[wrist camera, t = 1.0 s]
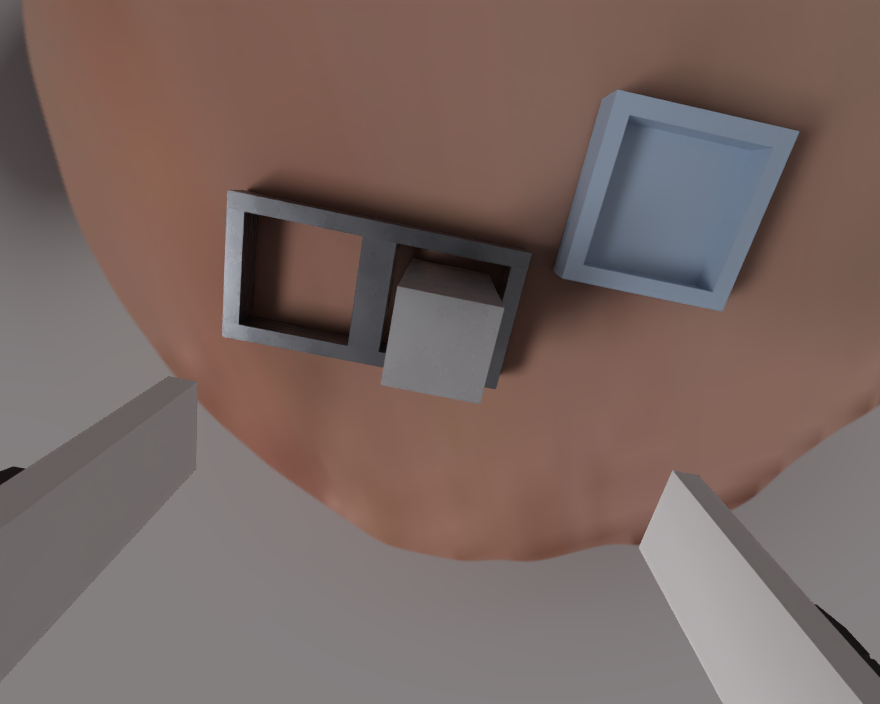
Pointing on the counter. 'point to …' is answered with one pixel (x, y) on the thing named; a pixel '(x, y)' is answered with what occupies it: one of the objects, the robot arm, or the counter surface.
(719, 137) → the parts tray
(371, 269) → the rack frame
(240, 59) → the counter surface
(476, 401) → the grey rectangular block
